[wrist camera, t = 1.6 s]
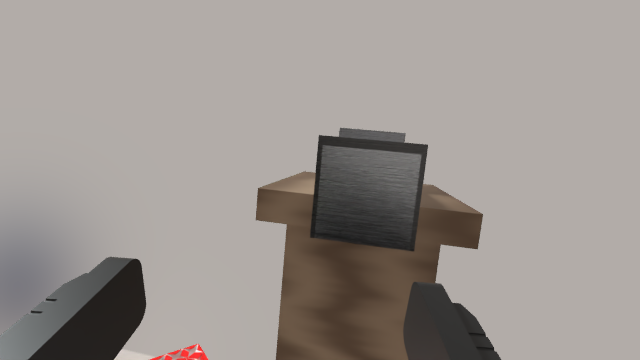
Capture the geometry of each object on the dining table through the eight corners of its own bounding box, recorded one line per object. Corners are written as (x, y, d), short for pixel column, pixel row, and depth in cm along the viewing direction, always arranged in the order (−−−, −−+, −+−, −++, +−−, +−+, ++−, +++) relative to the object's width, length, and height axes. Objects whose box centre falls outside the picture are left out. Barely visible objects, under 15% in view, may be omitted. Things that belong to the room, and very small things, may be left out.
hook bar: (284, 234, 10) (295, 97, 10) (341, 176, 31) (345, 131, 31) (442, 255, 10) (463, 109, 9) (392, 182, 30) (398, 136, 30)
